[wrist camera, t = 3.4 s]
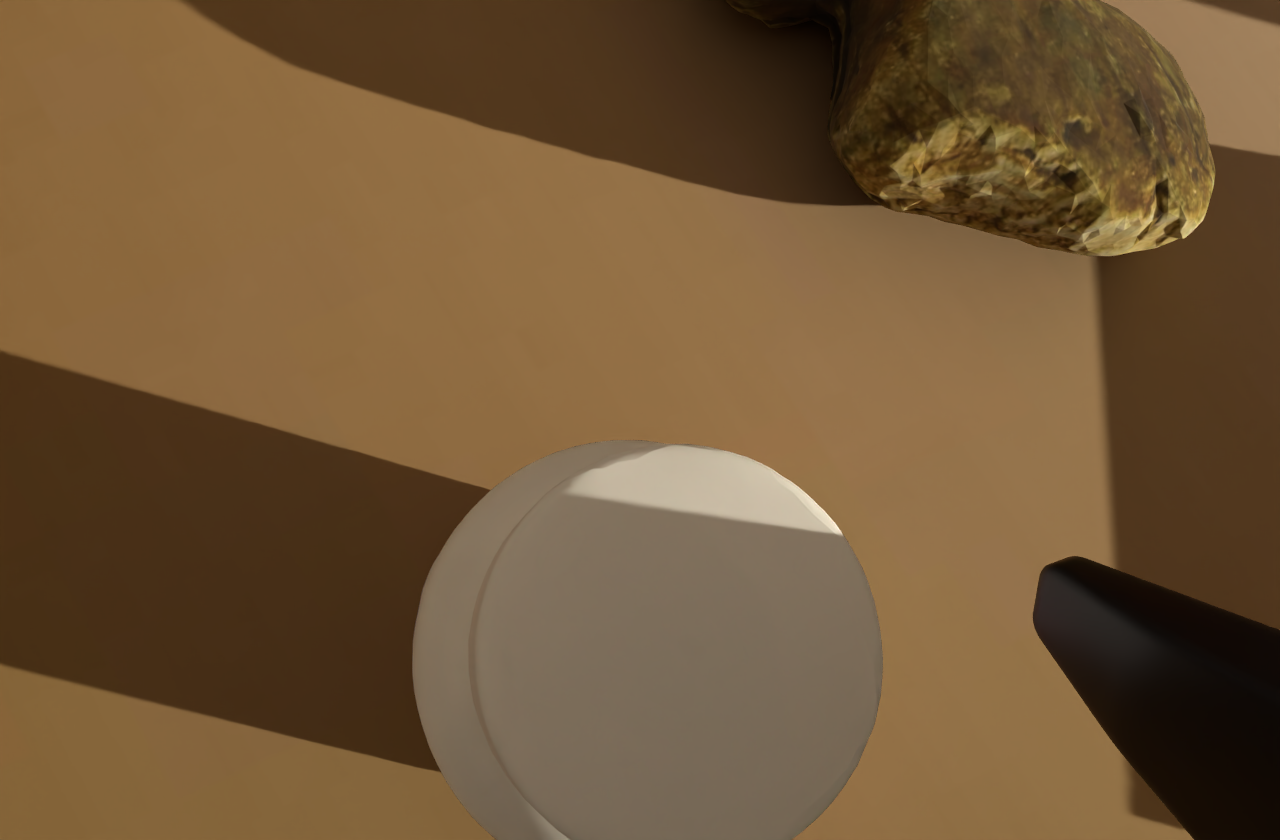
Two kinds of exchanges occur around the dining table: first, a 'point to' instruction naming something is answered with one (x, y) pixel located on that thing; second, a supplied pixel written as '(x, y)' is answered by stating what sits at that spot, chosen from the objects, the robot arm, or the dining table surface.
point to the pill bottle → (646, 650)
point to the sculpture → (1014, 118)
